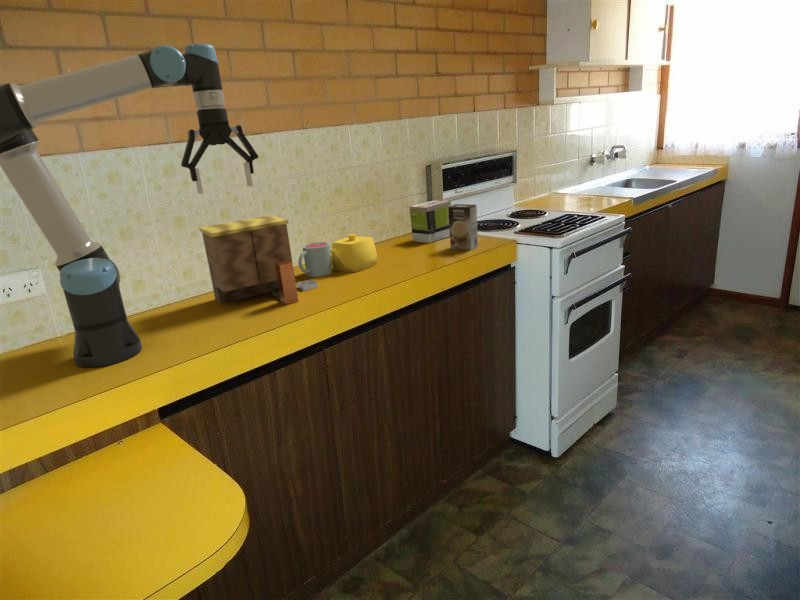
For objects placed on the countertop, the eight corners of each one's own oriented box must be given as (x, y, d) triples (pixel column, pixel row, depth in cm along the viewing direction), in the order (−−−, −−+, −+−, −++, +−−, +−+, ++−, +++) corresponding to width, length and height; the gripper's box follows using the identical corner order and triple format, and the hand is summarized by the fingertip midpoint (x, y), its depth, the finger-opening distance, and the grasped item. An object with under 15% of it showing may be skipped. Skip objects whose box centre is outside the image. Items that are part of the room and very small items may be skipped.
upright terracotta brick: (285, 304, 168) (279, 265, 165) (269, 294, 180) (262, 257, 177) (298, 301, 170) (292, 262, 167) (281, 291, 182) (275, 255, 178)
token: (303, 292, 181) (302, 285, 180) (297, 288, 185) (296, 282, 184) (318, 288, 183) (317, 282, 183) (311, 285, 187) (310, 279, 187)
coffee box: (449, 249, 217) (446, 206, 212) (457, 245, 222) (454, 203, 217) (471, 250, 212) (469, 207, 207) (479, 246, 217) (476, 204, 212)
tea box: (436, 234, 246) (434, 199, 241) (454, 236, 239) (452, 200, 234) (411, 241, 237) (408, 205, 232) (428, 243, 229) (426, 206, 225)
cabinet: (225, 310, 168) (210, 233, 161) (213, 299, 181) (199, 227, 174) (299, 292, 179) (288, 220, 172) (282, 283, 191) (271, 215, 184)
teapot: (347, 276, 192) (342, 242, 189) (321, 273, 200) (316, 240, 196) (385, 262, 207) (381, 230, 203) (359, 259, 214) (356, 228, 211)
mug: (319, 268, 206) (315, 241, 203) (338, 270, 201) (334, 242, 198) (291, 279, 196) (287, 250, 193) (311, 281, 191) (307, 252, 188)
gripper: (164, 111, 142) (181, 197, 148) (261, 104, 153) (273, 184, 160) (159, 112, 148) (176, 195, 154) (252, 105, 160) (265, 182, 166)
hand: (225, 189), depth 157 cm, fingers open, 13 cm apart
